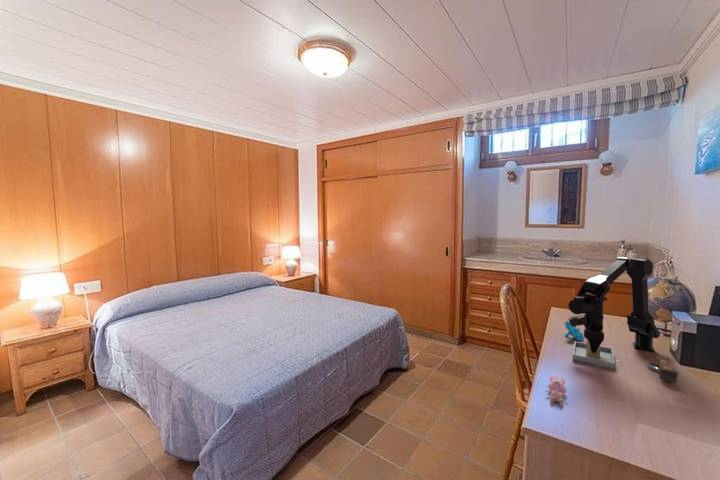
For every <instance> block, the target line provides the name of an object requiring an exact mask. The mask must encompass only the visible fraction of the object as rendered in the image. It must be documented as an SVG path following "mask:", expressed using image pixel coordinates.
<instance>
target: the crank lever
mask: <svg viewBox="0 0 720 480" xmlns="http://www.w3.org/2000/svg"><path fill="white" fill-rule="evenodd" d="M669 361H670V360H669V358H668V357H665V356H661V355H659V356H656V361H655V363H656V367H658V368H659V369H660V371H659V373H658V374H659V375H658V377H659V380H662V381H666V382H670V383H675V384H677V380H678V379H677V378H678V373H677V372H676V371H675V370H671V368H670V367H671V366H670V364H669Z"/></svg>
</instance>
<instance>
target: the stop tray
mask: <svg viewBox="0 0 720 480" xmlns="http://www.w3.org/2000/svg"><path fill="white" fill-rule="evenodd" d="M586 343H587V342H582V341H576V340H574V343H573V350H572V351H573V352H572V362H573V361H574V362H577V363H581V364H586V365H591V366H596V367H599V368H604V369H608V370H609V369H610V370H612V371H615V370H616V368H615V367H616V363H615V361H616V360H615V355H614V348H612V347H608V346H607V347H606V346H602V345H600V359H598V358H593V357H589V356H586Z"/></svg>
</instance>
